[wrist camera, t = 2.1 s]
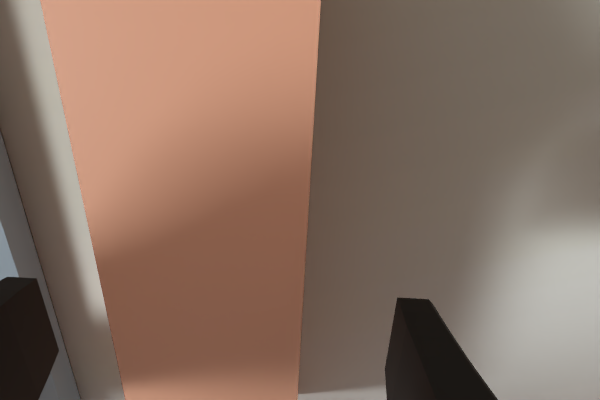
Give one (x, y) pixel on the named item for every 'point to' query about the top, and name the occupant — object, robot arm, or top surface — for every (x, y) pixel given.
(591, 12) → the top surface
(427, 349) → the robot arm
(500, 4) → the top surface
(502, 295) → the top surface
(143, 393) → the terracotta bar
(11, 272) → the stand
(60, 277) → the top surface
